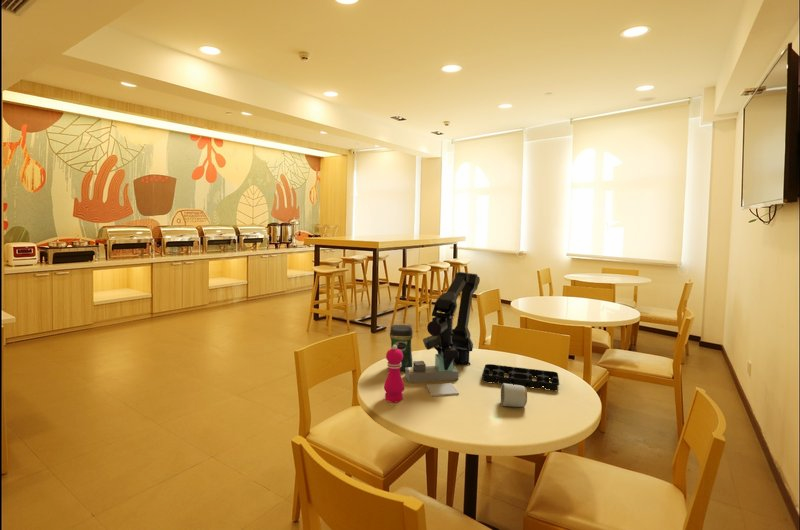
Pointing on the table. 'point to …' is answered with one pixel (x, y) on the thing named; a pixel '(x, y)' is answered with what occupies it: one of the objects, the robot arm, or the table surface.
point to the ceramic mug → (513, 395)
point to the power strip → (428, 373)
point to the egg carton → (520, 376)
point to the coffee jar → (402, 343)
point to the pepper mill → (394, 376)
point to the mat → (442, 389)
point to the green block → (441, 364)
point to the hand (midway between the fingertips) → (443, 367)
